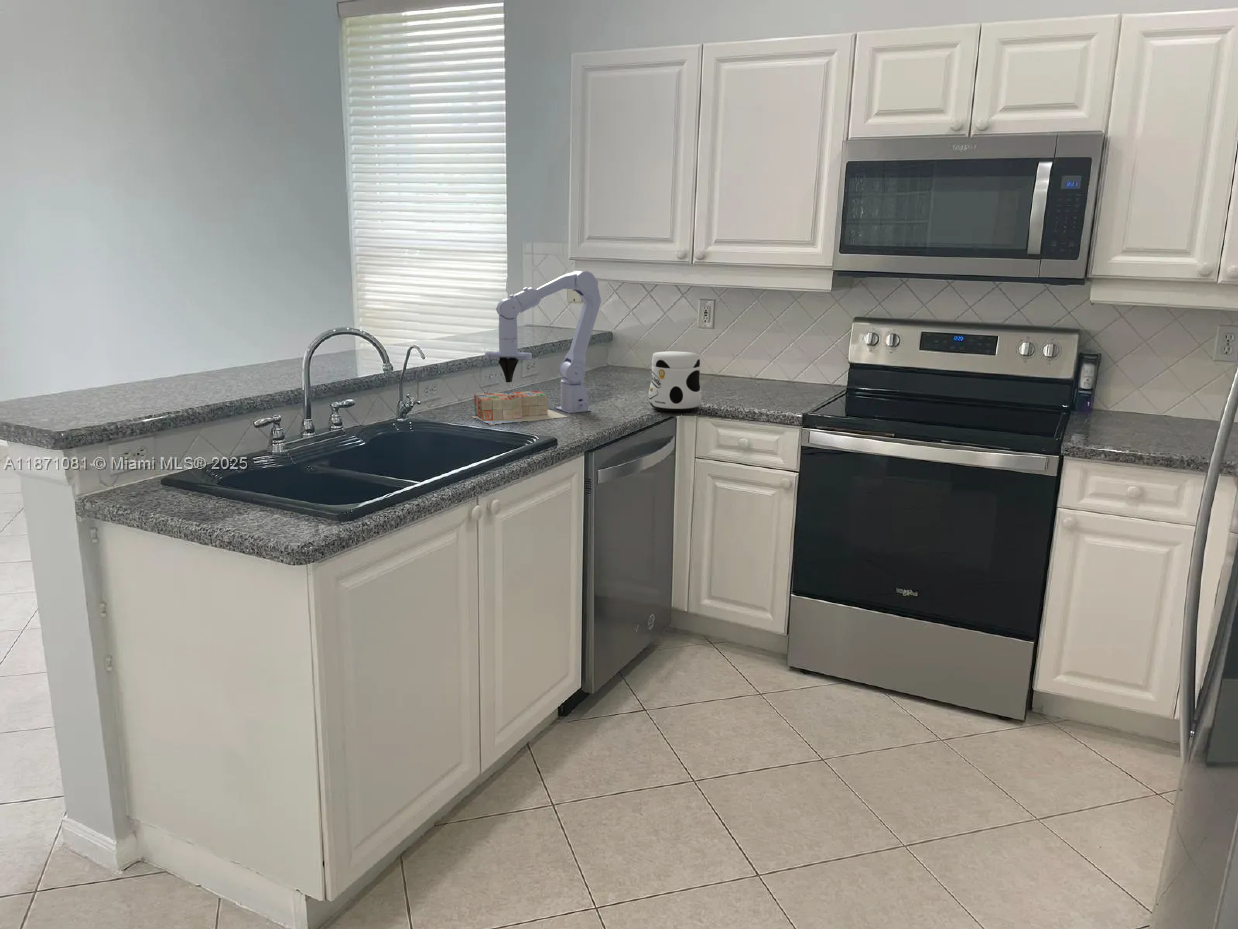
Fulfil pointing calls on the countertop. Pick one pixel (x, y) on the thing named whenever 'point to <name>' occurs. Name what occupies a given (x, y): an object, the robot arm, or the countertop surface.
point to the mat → (532, 417)
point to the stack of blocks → (510, 405)
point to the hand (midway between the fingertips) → (509, 381)
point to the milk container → (675, 381)
